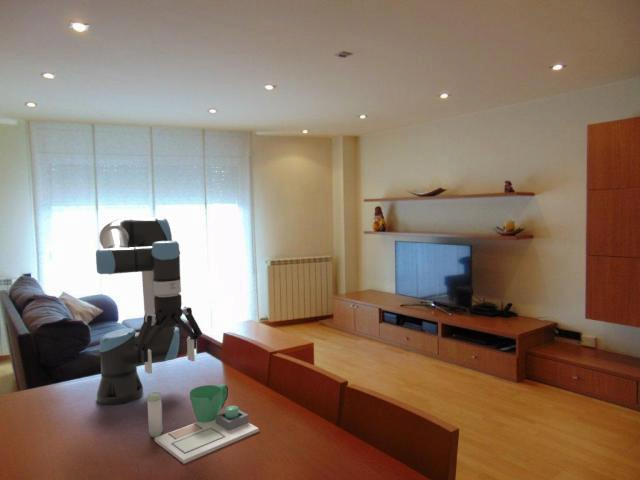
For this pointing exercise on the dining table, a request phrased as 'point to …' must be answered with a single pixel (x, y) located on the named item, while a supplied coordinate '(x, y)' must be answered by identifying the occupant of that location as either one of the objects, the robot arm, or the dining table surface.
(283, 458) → the dining table surface
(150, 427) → the marker
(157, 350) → the robot arm
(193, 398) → the mug
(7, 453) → the dining table surface
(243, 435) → the board
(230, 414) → the button
